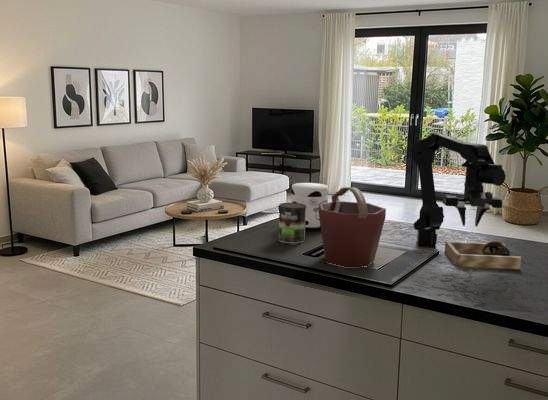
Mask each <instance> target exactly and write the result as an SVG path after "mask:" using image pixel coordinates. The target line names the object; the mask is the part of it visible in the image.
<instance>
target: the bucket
mask: <svg viewBox="0 0 548 400" xmlns="http://www.w3.org/2000/svg"><path fill="white" fill-rule="evenodd" d="M348 191H350V192H351V193H352V194H353V197H354V198H355V200H356V201H346V200H345V201H343V200H342V201H341V200H340V199H339V197H342V196H343V195H345V194H346V193H347V192H348ZM386 210H387V208H385V207H381V206H379V205H375V204H373V203H370V202H369V203H368V202H367V201H366V199H365V196H364V194H363V192H362V191H361V190H360V189H359V188H357V187H354V186H353V187H350V186H347V187H346V186H345V187H344V186H343V187H341V188H340V189H339V190H338V191H336V192H335V193H333V194H332V195H331V202H330V201H329V202H328V203H322V204H319V219H320V226H321V229H320V232H321V240H322V246H323V253H324V259H325V260H324V261H325V263H326V262H328V263H332V264H336V265H340V266H344V267H362V266H363V267H364V266H368V265H369V264H370V263H371V262H373V261H374V262H375V259H376V253H377V252H378V248H379V243H380V239H381V237H382V236H381V235H382V232H383V229H384V225H385V222H386V221H385V220H386V215H387V211H386ZM374 262H373V263H374ZM369 266H370V265H369ZM369 266H368V267H369Z"/></svg>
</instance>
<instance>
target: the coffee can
mask: <svg viewBox="0 0 548 400" xmlns="http://www.w3.org/2000/svg"><path fill="white" fill-rule="evenodd" d="M278 207H279V210H278V211H279V213H278V239H279V241H281V242H285V243H300V242H303V241H304V240H305V239H306V237H305V236H306V235H305V234H306V229H305V217H306V205H304V204H301V203H291V202H282V203H279V205H278ZM279 241H278V242H279ZM281 242H280V243H281ZM285 243H284V244H285Z"/></svg>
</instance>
